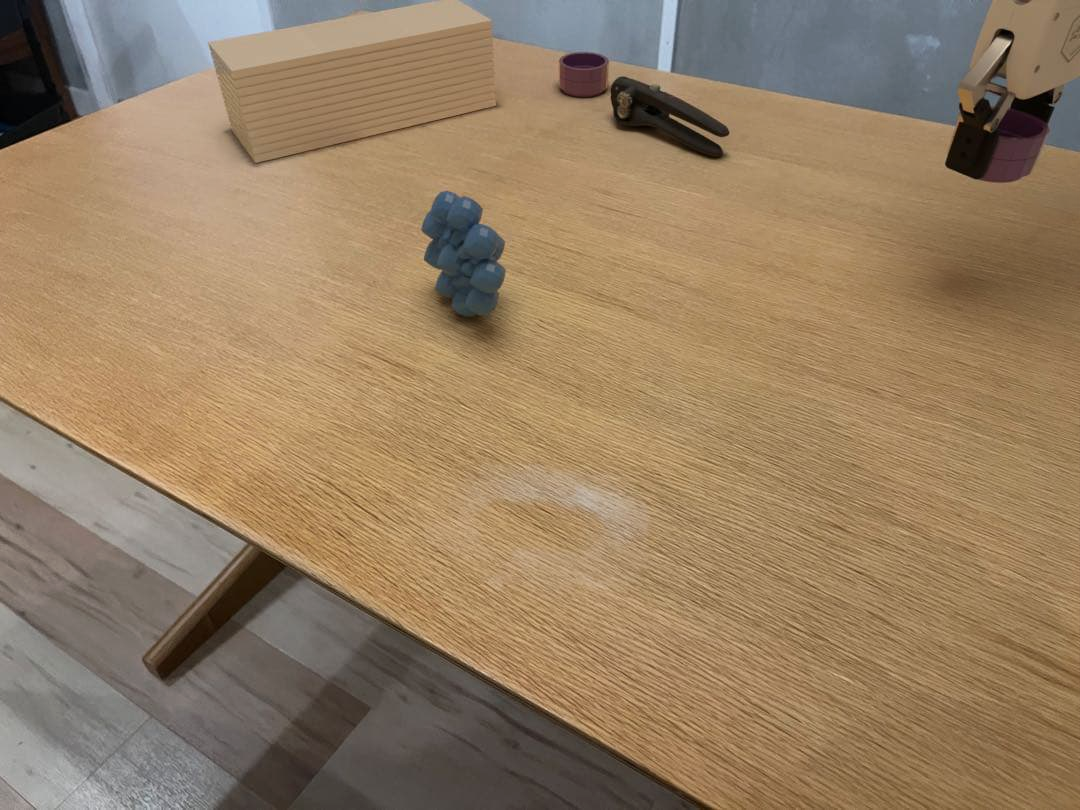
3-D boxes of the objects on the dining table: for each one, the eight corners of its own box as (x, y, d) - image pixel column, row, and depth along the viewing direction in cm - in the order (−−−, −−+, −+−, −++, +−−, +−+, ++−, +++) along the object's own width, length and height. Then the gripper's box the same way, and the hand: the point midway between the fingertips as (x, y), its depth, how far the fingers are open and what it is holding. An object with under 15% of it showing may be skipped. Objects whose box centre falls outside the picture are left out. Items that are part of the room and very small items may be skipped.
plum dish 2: (1004, 147, 71) (1021, 104, 68) (1046, 183, 66) (1066, 137, 64) (931, 151, 71) (945, 108, 68) (968, 187, 66) (985, 142, 63)
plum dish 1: (603, 78, 115) (604, 50, 112) (611, 97, 110) (612, 68, 108) (556, 81, 114) (556, 53, 112) (562, 99, 110) (562, 70, 107)
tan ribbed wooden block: (255, 163, 96) (231, 70, 89) (231, 130, 103) (207, 41, 96) (496, 106, 108) (492, 19, 101) (460, 80, 115) (454, -3, 108)
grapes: (543, 329, 72) (542, 206, 64) (476, 356, 69) (466, 231, 61) (475, 269, 79) (467, 151, 71) (413, 292, 76) (396, 172, 68)
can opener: (595, 121, 104) (597, 76, 101) (634, 106, 108) (636, 62, 104) (702, 168, 94) (708, 121, 91) (741, 150, 98) (748, 104, 94)
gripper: (1070, -56, 50) (969, 209, 62) (1202, -94, 57) (1089, 148, 69) (960, -79, 54) (886, 172, 66) (1095, -111, 62) (1007, 119, 74)
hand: (990, 158), depth 68 cm, fingers closed on plum dish 2, 6 cm apart
